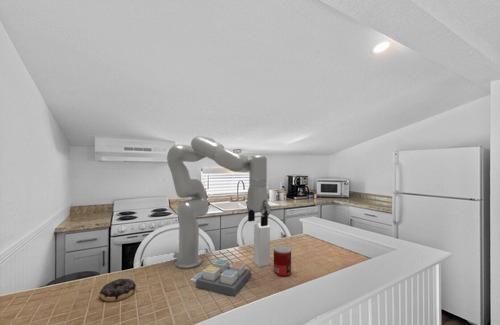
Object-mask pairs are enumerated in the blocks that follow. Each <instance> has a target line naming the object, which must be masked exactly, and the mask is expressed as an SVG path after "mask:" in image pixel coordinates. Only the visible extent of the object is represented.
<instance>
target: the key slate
mask: <svg viewBox="0 0 500 325" xmlns="http://www.w3.org/2000/svg"><path fill="white" fill-rule="evenodd" d="M237 275H238V271H233V270H228V269H226V270H225V271H224V272H223V273H222V274H221V283H224V284H228V285H233V284H234V283H235V282H236V280H237Z"/></svg>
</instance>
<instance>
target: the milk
mask: <svg viewBox="0 0 500 325" xmlns="http://www.w3.org/2000/svg"><path fill="white" fill-rule="evenodd" d="M270 234H271V226H270V224H268V225H267V226H261V219H258V220H256V223H255V224H254V225H253V263H254V264H255V266H258V267H259V268H261V267H266V266H270V263H271V262H270V261H271V260H270V259H271V252H270V251H271V244H270V243H271V235H270Z"/></svg>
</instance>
